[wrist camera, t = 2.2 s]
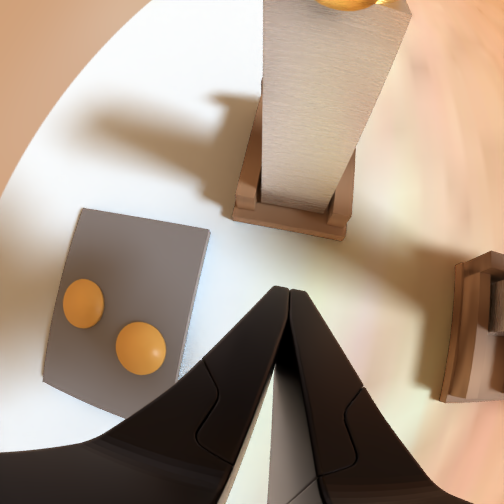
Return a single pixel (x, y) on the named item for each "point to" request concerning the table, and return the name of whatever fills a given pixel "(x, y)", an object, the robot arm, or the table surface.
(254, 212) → the track
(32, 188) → the table surface
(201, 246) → the pattern card
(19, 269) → the table surface
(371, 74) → the lever
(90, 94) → the table surface
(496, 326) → the lever
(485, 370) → the track
